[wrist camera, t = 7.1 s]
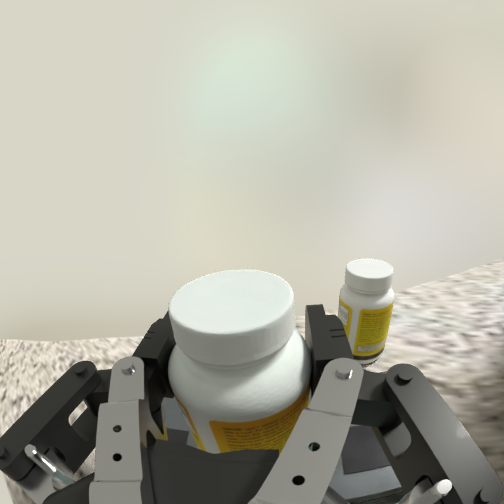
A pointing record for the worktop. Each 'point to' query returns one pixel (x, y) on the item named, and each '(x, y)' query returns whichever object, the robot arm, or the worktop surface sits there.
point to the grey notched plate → (347, 469)
